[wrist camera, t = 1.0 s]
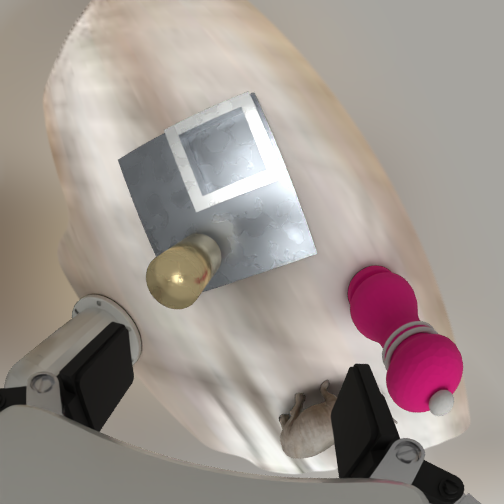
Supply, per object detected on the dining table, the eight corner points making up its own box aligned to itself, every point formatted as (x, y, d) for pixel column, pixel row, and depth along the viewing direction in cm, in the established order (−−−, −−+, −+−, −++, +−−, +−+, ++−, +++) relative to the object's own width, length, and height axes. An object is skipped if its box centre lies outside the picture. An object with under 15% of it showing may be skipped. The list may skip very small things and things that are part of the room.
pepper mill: (363, 250, 30) (452, 352, 11) (410, 276, 30) (506, 377, 11) (332, 303, 32) (370, 440, 13) (378, 325, 32) (438, 450, 13)
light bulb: (189, 283, 32) (161, 315, 24) (171, 242, 31) (137, 264, 23) (228, 269, 31) (210, 300, 23) (210, 226, 30) (185, 245, 22)
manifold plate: (180, 295, 34) (168, 309, 30) (124, 160, 30) (106, 159, 27) (315, 249, 31) (319, 260, 27) (255, 96, 27) (251, 85, 23)
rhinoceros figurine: (245, 407, 35) (313, 473, 22) (318, 352, 40) (398, 391, 27) (265, 434, 37) (326, 492, 24) (329, 383, 42) (399, 422, 29)
